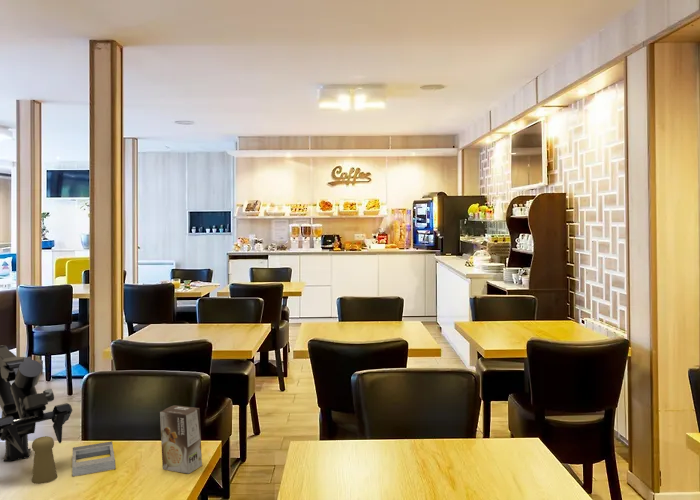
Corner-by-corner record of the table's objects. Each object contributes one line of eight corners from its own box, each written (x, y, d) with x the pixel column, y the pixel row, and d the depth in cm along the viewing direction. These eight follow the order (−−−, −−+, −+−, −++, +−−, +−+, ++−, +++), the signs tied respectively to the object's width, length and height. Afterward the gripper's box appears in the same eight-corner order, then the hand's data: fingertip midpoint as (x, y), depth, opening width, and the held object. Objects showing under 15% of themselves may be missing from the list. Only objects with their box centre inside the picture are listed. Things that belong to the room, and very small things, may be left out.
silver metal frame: (73, 455, 174) (72, 447, 174) (112, 449, 178) (112, 441, 178) (72, 476, 160) (72, 467, 159) (115, 468, 164) (115, 460, 164)
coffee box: (203, 465, 165) (201, 407, 165) (188, 474, 160) (186, 415, 159) (176, 460, 169) (174, 404, 168) (160, 469, 163) (158, 411, 162)
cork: (46, 484, 155) (44, 442, 154) (26, 483, 156) (24, 441, 155) (62, 474, 161) (60, 434, 160) (42, 473, 162) (40, 433, 161)
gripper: (-7, 388, 155) (8, 441, 148) (68, 374, 168) (85, 421, 161) (-14, 412, 161) (0, 464, 153) (59, 396, 174) (75, 443, 167)
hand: (42, 447), depth 158 cm, fingers open, 9 cm apart
